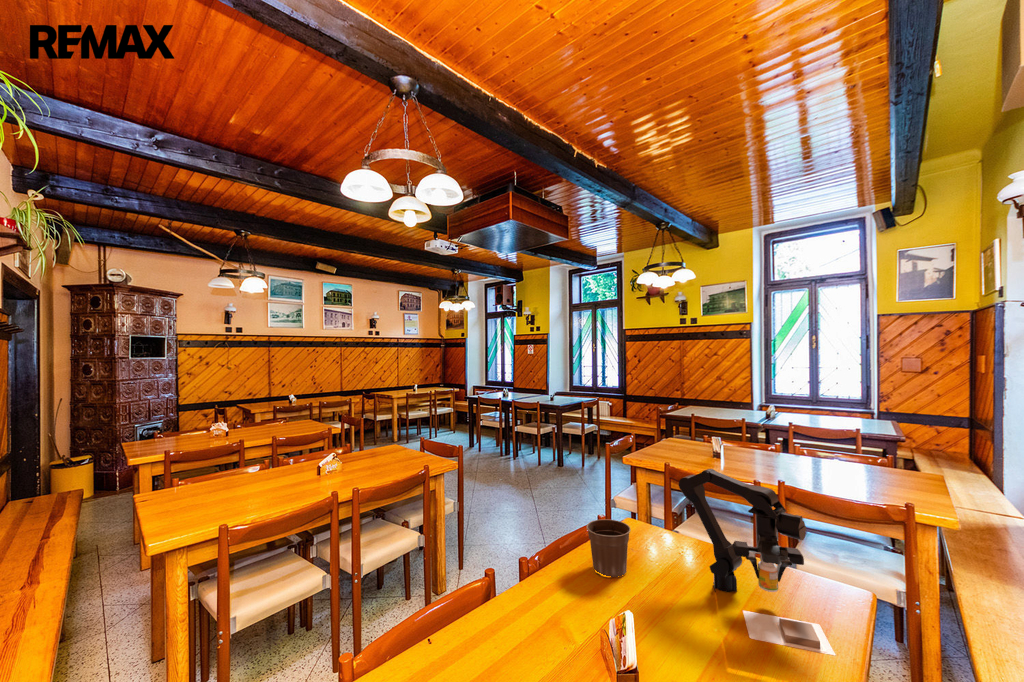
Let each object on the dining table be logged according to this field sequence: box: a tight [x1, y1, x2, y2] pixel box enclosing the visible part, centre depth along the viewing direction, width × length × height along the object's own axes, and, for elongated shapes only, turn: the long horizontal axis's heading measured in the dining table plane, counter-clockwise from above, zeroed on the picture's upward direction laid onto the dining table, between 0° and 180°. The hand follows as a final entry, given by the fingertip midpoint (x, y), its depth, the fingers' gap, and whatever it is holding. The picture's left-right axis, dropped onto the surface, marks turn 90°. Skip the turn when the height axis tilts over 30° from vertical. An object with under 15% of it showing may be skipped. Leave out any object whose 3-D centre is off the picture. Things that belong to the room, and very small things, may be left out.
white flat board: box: [742, 610, 836, 657], centre depth 122 cm, size 20×14×1 cm
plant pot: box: [586, 518, 631, 578], centre depth 160 cm, size 16×16×16 cm
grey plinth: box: [779, 618, 820, 649], centre depth 119 cm, size 8×8×2 cm
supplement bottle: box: [757, 554, 779, 593], centre depth 134 cm, size 5×5×10 cm
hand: (768, 579), depth 134 cm, fingers closed on supplement bottle, 5 cm apart
